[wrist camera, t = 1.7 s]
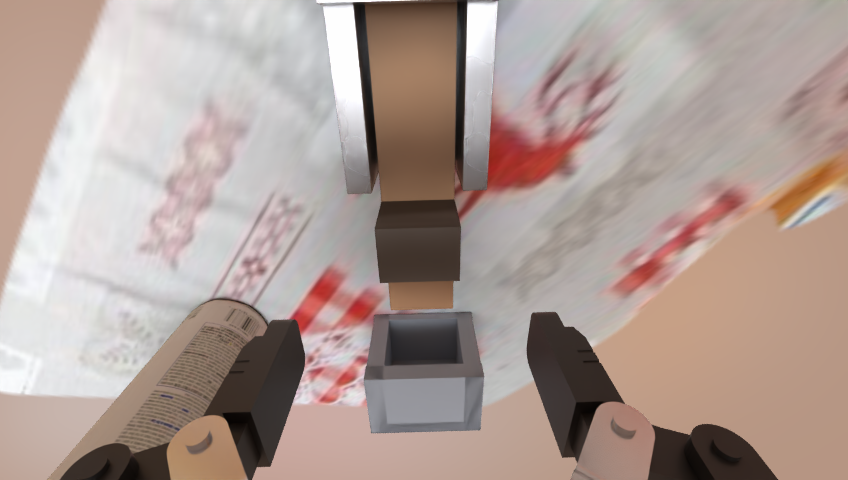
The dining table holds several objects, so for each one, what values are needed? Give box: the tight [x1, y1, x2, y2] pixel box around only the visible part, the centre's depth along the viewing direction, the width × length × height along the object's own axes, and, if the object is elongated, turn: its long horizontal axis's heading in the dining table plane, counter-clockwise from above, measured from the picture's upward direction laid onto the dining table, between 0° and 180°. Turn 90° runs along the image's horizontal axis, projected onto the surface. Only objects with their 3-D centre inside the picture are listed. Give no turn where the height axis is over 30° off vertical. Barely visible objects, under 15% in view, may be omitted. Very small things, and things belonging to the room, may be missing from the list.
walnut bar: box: [365, 2, 461, 310], centre depth 19 cm, size 20×4×8 cm, turn 1°
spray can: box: [47, 300, 268, 480], centre depth 22 cm, size 7×7×20 cm
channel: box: [317, 0, 498, 194], centre depth 18 cm, size 12×7×8 cm, turn 1°
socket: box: [364, 312, 484, 433], centre depth 28 cm, size 8×6×7 cm
